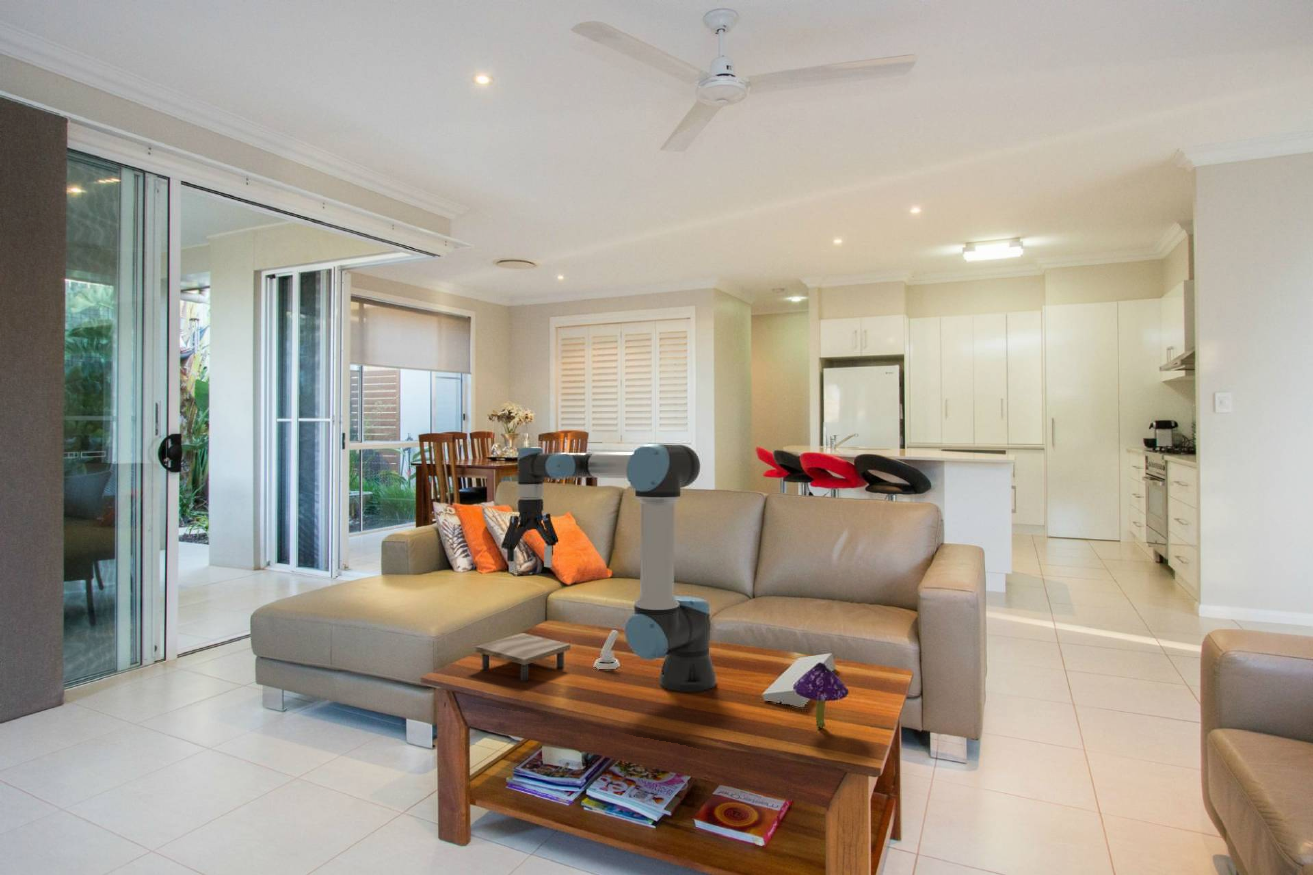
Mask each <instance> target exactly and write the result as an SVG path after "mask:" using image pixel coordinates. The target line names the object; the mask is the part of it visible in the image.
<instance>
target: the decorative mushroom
mask: <svg viewBox="0 0 1313 875" xmlns="http://www.w3.org/2000/svg"><path fill="white" fill-rule="evenodd" d="M793 689H794V691H795V692H796V693H797V694H798V695H800V696H802V697H805V698H808V699H811V700H814V701H817V702H816V710H815V711H816V712H815V716H816V717H815V718H816V719H815V722H816V723H815V726H816V727H817V728H818V727H820V728H822V729H824V728H825V727H826V723H825V707H826V702H833V701H839V700H843V699H845V698H846V697H847V696H848V695H849V694H850V692H849V689H848V688H847V686H846V684H844V682H843V681H842V680H841V679H840V678H839V677H838V675H836V673H834V671H833V672H832V671H830V670H829V669H828V668H827V667H826V665H825V664H824V663H822V662H819V663H817V664H816V665H815V666H814V667H813V668H812V669H810V670H809V671H808V672H806V673H805V674H804V675H803V676H802V677H801V678H800V679H799V680H798V681H797V682H796V683H795V684H794V685H793ZM823 727H824V728H823ZM820 728H819V729H820Z"/></svg>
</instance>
